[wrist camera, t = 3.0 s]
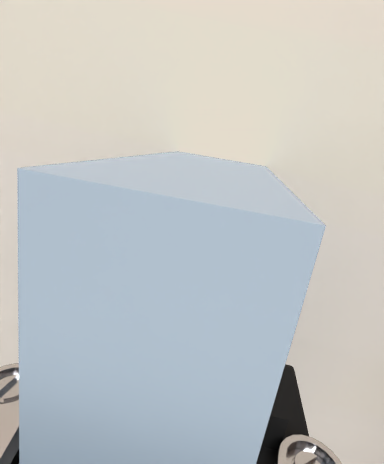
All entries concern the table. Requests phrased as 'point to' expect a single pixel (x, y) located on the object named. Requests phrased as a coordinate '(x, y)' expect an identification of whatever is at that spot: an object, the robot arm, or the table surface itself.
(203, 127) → the table surface
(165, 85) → the table surface
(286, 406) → the robot arm
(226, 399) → the door panel
